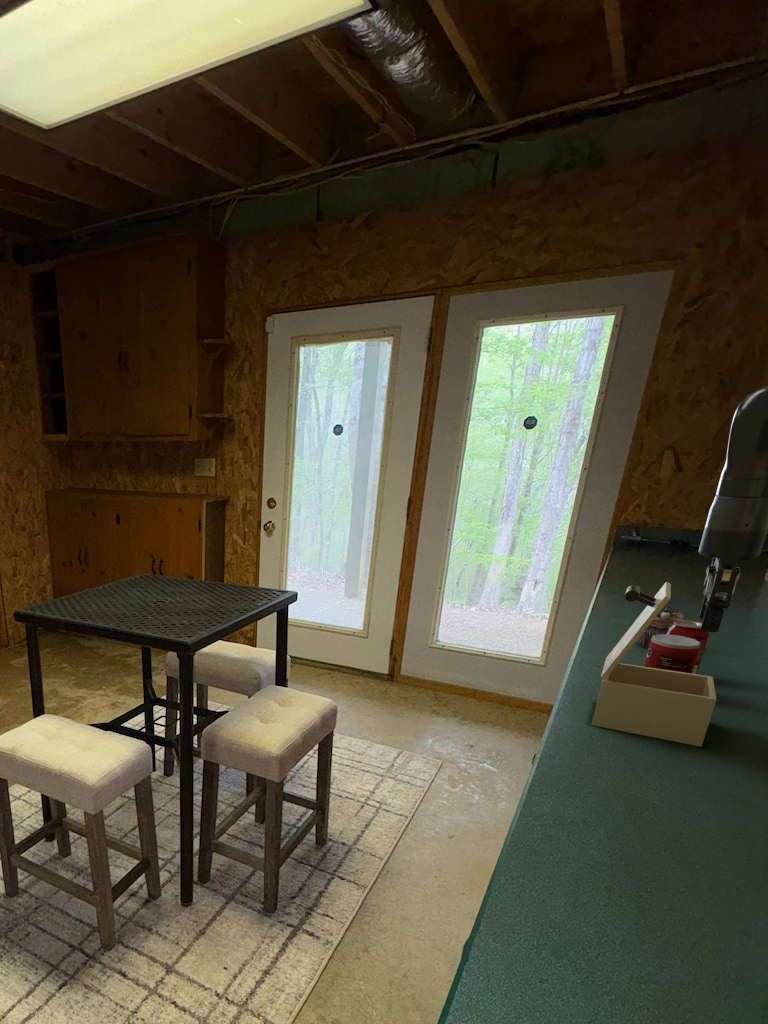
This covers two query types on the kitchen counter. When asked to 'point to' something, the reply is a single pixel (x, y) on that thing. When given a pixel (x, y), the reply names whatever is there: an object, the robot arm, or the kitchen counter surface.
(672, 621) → the cupcake
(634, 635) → the bin lid
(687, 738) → the bin
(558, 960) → the kitchen counter surface
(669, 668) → the canned food
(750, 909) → the kitchen counter surface
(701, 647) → the soda can
